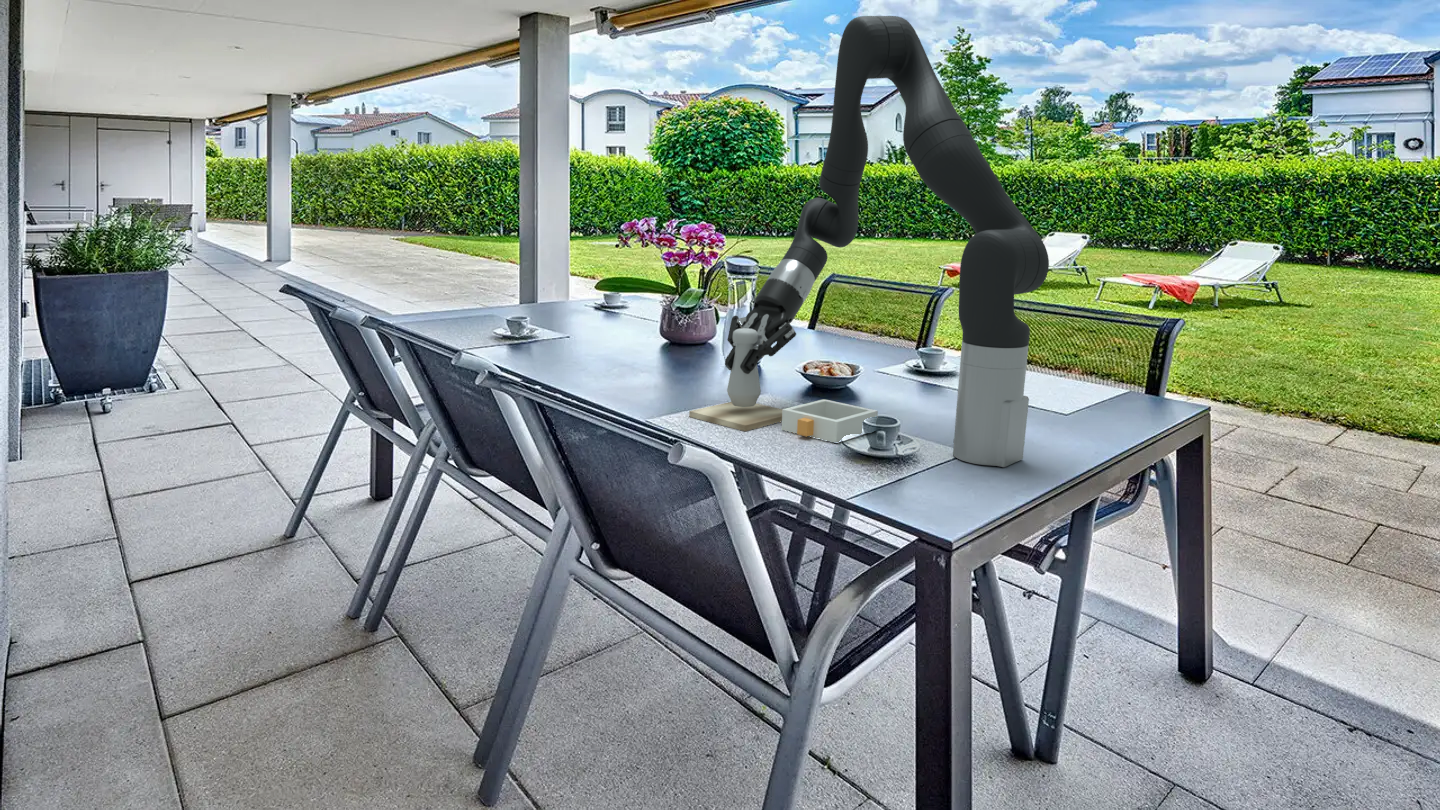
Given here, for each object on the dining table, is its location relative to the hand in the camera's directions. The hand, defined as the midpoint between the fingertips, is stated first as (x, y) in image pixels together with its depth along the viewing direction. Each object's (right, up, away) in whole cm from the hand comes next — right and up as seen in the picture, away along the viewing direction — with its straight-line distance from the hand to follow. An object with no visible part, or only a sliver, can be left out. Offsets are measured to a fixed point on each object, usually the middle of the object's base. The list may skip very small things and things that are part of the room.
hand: (736, 368), depth 150 cm
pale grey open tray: (+15, -10, -4) cm, 19 cm away
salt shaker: (+1, -6, +3) cm, 7 cm away
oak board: (+1, -8, +3) cm, 9 cm away
